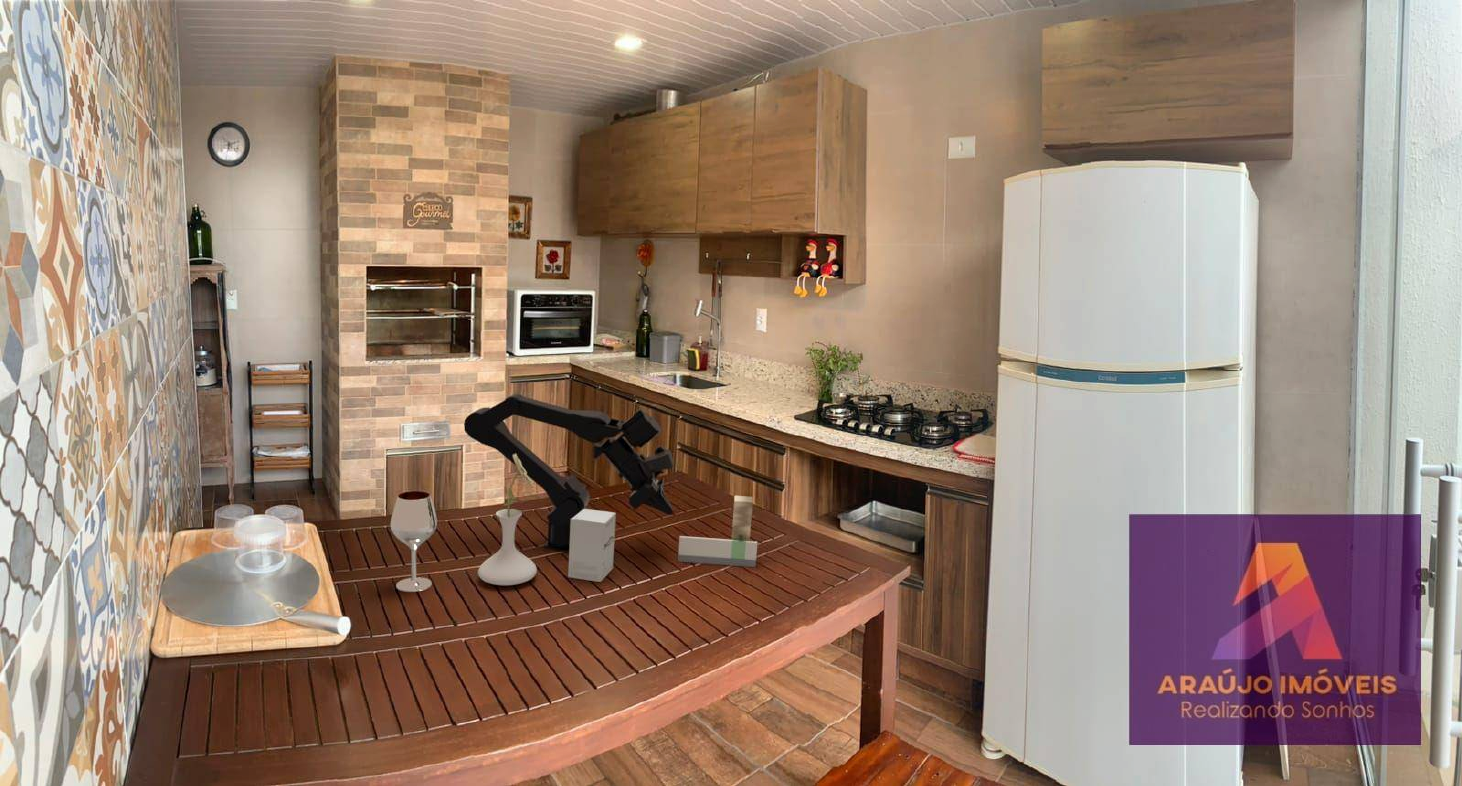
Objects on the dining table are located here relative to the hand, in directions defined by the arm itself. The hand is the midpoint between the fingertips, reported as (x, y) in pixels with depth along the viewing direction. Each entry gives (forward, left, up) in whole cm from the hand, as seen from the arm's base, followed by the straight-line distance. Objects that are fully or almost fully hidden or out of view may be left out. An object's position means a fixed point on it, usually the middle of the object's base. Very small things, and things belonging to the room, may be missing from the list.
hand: (672, 513), depth 178 cm
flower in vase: (-22, -28, -10) cm, 37 cm away
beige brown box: (+15, +4, -8) cm, 17 cm away
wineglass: (-35, -40, -10) cm, 54 cm away
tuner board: (+10, +4, -9) cm, 14 cm away
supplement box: (-9, -18, -10) cm, 23 cm away
